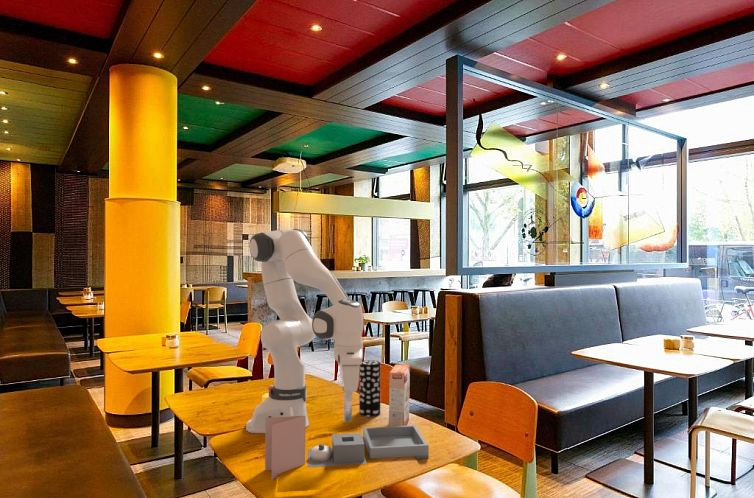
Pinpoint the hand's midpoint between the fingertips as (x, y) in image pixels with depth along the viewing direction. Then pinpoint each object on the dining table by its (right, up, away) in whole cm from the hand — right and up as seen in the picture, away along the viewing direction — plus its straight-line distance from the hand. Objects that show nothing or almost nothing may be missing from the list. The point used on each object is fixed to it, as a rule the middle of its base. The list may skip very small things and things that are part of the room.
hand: (347, 398), depth 147 cm
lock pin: (0, -7, 0) cm, 7 cm away
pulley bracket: (-3, -18, -1) cm, 18 cm away
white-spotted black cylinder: (+6, -19, +43) cm, 47 cm away
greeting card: (-17, -18, -10) cm, 27 cm away
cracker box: (+17, -19, +29) cm, 39 cm away
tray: (+14, -19, +8) cm, 25 cm away
